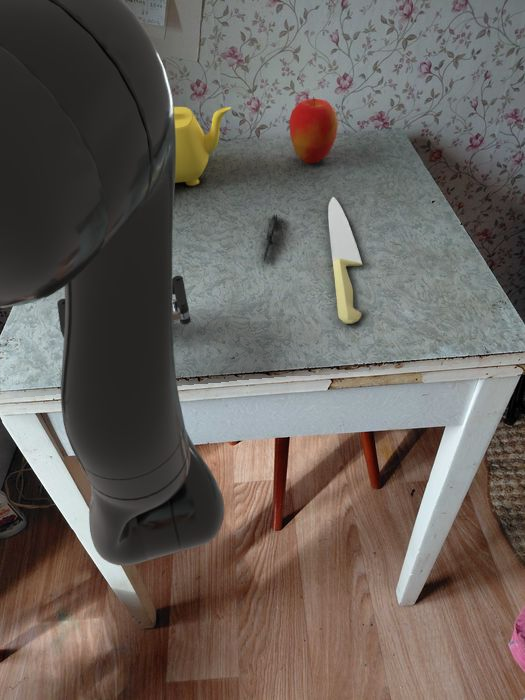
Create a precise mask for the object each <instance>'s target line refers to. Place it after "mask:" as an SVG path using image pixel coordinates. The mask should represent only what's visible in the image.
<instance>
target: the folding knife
mask: <svg viewBox="0 0 525 700" xmlns="http://www.w3.org/2000/svg"><path fill="white" fill-rule="evenodd" d="M277 222H278V214H273V215H272V216H271V219H270V223H269V224H268V231H267V234H266V239H265V241H266V245H265V251H264V256H263V263H265V262H266V260H267V258H268V257H267V256H268V253H269V249H270V246H271V245H273V238H274V235H275V230H276V226H277Z"/></svg>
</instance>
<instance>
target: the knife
mask: <svg viewBox="0 0 525 700" xmlns="http://www.w3.org/2000/svg"><path fill="white" fill-rule="evenodd" d="M327 215H328V216H327V218H328V231H329V238H330V239H329V240H330V241H329V242H330V250H331V259H332V268H333V276H334V286H335V294H336V296H335V297H336V307H337V316H338V318H339V320H340V321H341V322H342V323H343V324H345V325H353V324H354V323H357V322H358V321H359V320H360V319H361V317H362V312H361V311H359V310H357V309H355V307H354V289H353V285H352V282H351V280H350V276H349V273H348V270H347V267H360V266H364V265H363V262H362V258H361V255H360V252H359V249H358V246H357V242H356V240H355V237H354V234H353V231H352V228H351V226H350V223H349V220H348V219H347V216H346V214H345V211H344V209H343V208H342V206H341V204H340V202H339V201H338V200H337V199H336V198H335V197H334V196H332V197H331V199H330V200H329V203H328V206H327Z"/></svg>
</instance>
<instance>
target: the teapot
mask: <svg viewBox="0 0 525 700" xmlns="http://www.w3.org/2000/svg"><path fill="white" fill-rule="evenodd" d="M231 109H232V107H231V106H226V107H221V108H219V109H218V110H216V111H215V112H214V113H213V116H212V119H211V127H210V130H209V131H208V132H207V133H206V134H205V133H204V131H203V129H202V127H201V125H200V123H199V122H198V119H197V118H196V116H195V114H194V113H193V111H192V110H191V109H190V108H189V107H186V106H174V116H175V133H176V165H175V184H177V183H185V184H186V185H187V186H196V185H198V184H200V180H199V178H200V177H201V176H202V175H203V173H204V171H205V170H206V168H207V165H208V162H209V159H210V154H211V153H213V152H214V151H215V149H216V148H217V147H218V144H219V141H220V134H221V133H220V132H221V122H222V119H223V117H224V116H225V114H226V113H227V112H228V111H230V110H231Z"/></svg>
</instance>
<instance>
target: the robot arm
mask: <svg viewBox="0 0 525 700" xmlns="http://www.w3.org/2000/svg"><path fill="white" fill-rule="evenodd" d="M174 107H175V106H174V100H173V95H172V90H171V85H170V82H169V78H168V74H167V71H166V68H165V66H164V63H163V62H162V59H161V56H160V54H159V51H158V50H157V48H156V45H155V42H154V41H153V39H152V37H151V36H150V34H149V33H148V31H147V29H146V28H145V27H144V25H143V23H142V22H141V20H140V18H139V17H138V16H137V14H136V13H135V12H134V11H133V9H131V8H130V6H129V5H128V4H127V3H126V2H125V0H0V309H4V308H10V307H19V306H24V305H29V304H33V303H37V302H39V301H42V300H44V299H46V298H48V297H50V296H52V295H54V294H55V293H57V292H58V291H60V290H61V289H63V288H64V298H60V299H58V301H57V303H56V305H57V311H58V320H59V328H60V332H61V334H62V338H63V345H62V364H61V377H60V378H61V379H60V405H61V413H62V422H63V428H64V431H65V434H66V437H67V440H68V442H69V445H70V448H71V450H72V452H73V454H74V456H75V457H76V459H77V462H78V463H79V465H80V468H81V469H82V471H83V473H84V475H85V477H86V479H87V481H88V482H89V486H90V491H91V495H90V501H89V512H88V515H89V516H88V520H89V521H88V522H89V523H88V524H89V533H90V538H91V540H92V544H93V547H94V549H95V551H96V552H97V554H98V555H99V557H100V558H102V559H103V560H104V561H106V562H108V563H109V564H111V565H115V566H120V567H121V566H122V567H125V566H134V565H138V564H142V563H144V562H148V561H151V560H154V559H159V558H162V557H166V556H169V555H174V554H177V553H181V552H182V551H183V552H184V551H188V550H192V549H196V548H198V547H202V546H204V545H207V544H210V542H212V541H213V540H214V539H215V538H216V537H217V536H218V534H219V533H220V531H221V528H222V527H223V523H224V521H225V512H226V511H225V509H226V508H225V501H224V497H223V493H222V490H221V487H220V485H219V483H218V481H217V479H216V477H215V476H214V474H213V472H212V470H211V469H210V467H209V466H208V464H207V463H206V461H205V460H204V459H203V457H202V455H201V454H200V452H199V451H198V450H197V447H196V446H195V445H194V443H193V441H192V439H191V437H190V435H189V432H188V431H187V429H186V425H185V420H184V415H183V411H182V410H183V409H182V405H181V400H180V395H179V388H178V382H177V373H176V361H175V360H176V359H175V345H174V321H179V323H180V324H181V325H189V324H190V323H191V321H192V319H191V315H190V307H189V303H188V297H187V293H186V288H185V282H184V277H183V276H182V275H174V276H173V232H174V231H173V230H174V229H173V228H174V207H175V187H176V186H175V185H176V183H175V165H176V133H175V116H174ZM173 295H174V296H175V297H174V299H173Z"/></svg>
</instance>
